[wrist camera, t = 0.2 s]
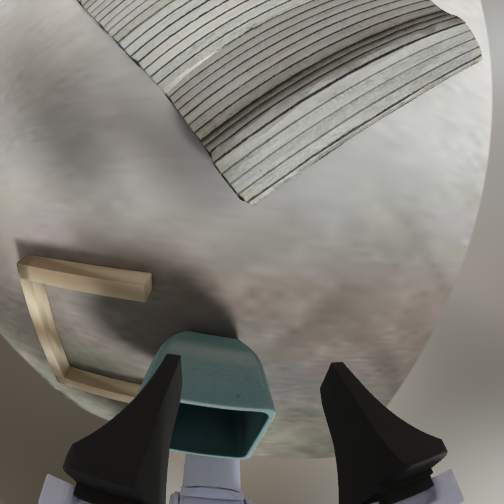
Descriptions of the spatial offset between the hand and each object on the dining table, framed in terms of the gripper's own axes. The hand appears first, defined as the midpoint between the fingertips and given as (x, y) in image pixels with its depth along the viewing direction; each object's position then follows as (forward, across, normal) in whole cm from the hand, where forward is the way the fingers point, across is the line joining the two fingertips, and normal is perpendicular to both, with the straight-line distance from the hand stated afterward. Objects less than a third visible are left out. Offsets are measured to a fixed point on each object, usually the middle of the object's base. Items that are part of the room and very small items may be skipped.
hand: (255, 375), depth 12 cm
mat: (+10, 0, -22) cm, 25 cm away
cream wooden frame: (+10, +14, +8) cm, 19 cm away
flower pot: (+10, +3, +8) cm, 14 cm away
